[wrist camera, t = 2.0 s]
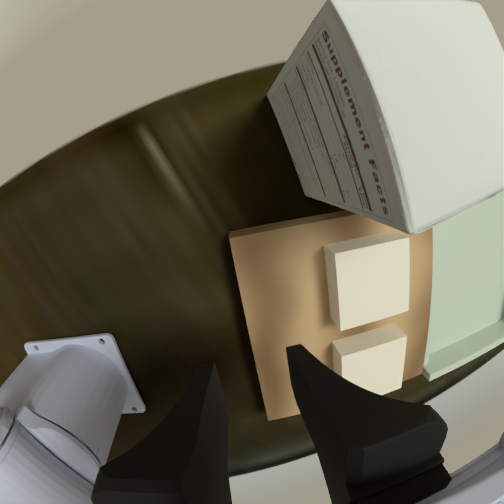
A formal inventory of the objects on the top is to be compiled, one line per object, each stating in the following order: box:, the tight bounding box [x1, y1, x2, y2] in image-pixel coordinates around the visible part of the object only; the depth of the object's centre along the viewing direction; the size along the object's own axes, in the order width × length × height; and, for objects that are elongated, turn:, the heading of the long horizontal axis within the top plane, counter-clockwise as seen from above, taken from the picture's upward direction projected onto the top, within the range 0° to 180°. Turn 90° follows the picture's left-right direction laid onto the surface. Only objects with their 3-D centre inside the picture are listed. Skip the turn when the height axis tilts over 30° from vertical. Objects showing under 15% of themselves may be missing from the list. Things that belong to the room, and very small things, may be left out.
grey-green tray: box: [422, 191, 504, 381], centre depth 21 cm, size 14×17×3 cm
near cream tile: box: [324, 231, 410, 331], centre depth 18 cm, size 5×5×2 cm
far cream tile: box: [332, 323, 407, 395], centre depth 20 cm, size 5×5×2 cm
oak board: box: [229, 210, 433, 421], centre depth 21 cm, size 14×15×2 cm
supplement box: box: [267, 0, 504, 235], centre depth 13 cm, size 7×7×13 cm
